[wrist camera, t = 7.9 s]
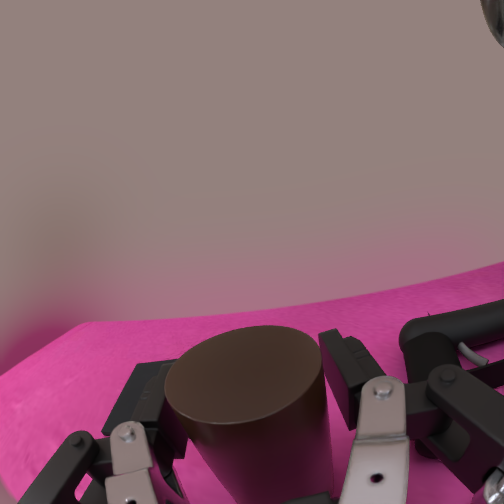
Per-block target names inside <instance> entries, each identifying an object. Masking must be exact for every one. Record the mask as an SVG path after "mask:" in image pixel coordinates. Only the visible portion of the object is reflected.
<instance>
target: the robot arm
mask: <svg viewBox="0 0 504 504" xmlns="http://www.w3.org/2000/svg"><path fill="white" fill-rule="evenodd" d="M480 1H481V6H482V10H483V13H484V17H485V20H486V22H487V25H488V27H489V29H490V31H491V33H492V35H493V36H494V38H495V39H496V41H497V42H498V43H499V44H500V45H501V46H502V47H503V48H504V0H480ZM318 338H319V345H320V351H321V354H322V361H323V369H324V374H325V376H326V379H327V381H328V383H329V385H330V388H331V390H332V392H333V395H334V397H335V399H336V401H337V404H338V406H339V408H340V411H341V413H342V415H343V418H344V420H345V422H346V425H347V427H348V429H349V431H351V430H354V429H356V428H357V429H356V435H355V439H354V440H353V444H352V448H351V454H350V458H349V463H348V468H347V472H346V477H345V481H344V485H343V489H342V493H341V496H340V497H336V498H330V494H329V491H325V492H321V493H317V494H313V495H309V496H304V497H300V498H295V499H290V500H288V501H285V502H283V503H280V504H406V497H407V487H408V473H409V440H413V439H418V438H419V439H420V440H421V441H422V442H423V443H424V444H425V445H426V446H427V447H428V448H429V449H430V450H431V451H432V453H433V454H434V455H435V456H436V457H437V458H438V459H439V460H440V461H441V462H442V463H443V464H444V465H445V466H446V467H447V468H448V469H449V470H450V471H451V472H452V473H453V474H454V475H455V476H456V477H457V478H458V479H459V480H460V481H461V482H462V483H463V484H464V485H465V486H466V487H467V488H468V489H469V490H470V491H471V492H472V493H473V494H474V495H473V497H472V500H471V503H470V504H504V396H503V395H502V394H500V393H499V392H497V391H496V390H494V389H493V388H491V387H490V386H488V385H487V384H485V383H484V382H482V381H481V380H479V379H478V378H476V377H474V376H473V375H471V374H470V373H468V372H467V371H465V370H464V369H462V368H461V367H459V366H457V365H453V364H445V365H440V366H438V367H436V368H434V369H433V370H432V371H431V372H430V374H429V376H428V380H426V381H421V382H416V383H409V384H403V383H402V382H401V381H400V380H399V379H397V378H395V377H392V376H387V375H386V374H385V373H384V371H383V370H382V369H381V367H380V366H379V365H378V363H377V362H376V361H375V359H374V358H373V357H372V355H370V353H369V351H368V350H367V349H366V347H365V346H364V345H363V343H362V342H361V341H360V340H358V339H356V338H354V337H352V336H349V337H346V338H342V336H341V335H340V333H339V332H338V330H337V329H336V328H335V329H332V330H328V331H325V332H321V333H319V334H318ZM173 364H174V363H167V364H162V365H161V368H160V370H159V372H158V375H157V376H153V377H152V378H151V379H150V380H149V381H148V382H147V383H146V385H145V387H144V390H143V393H142V394H141V396H140V400H139V401H138V403H137V405H136V408H135V410H134V412H133V415H132V417H131V419H130V421H128V422H124V423H122V424H120V425H118V426H117V427H116V428H114V430H113V431H112V433H111V435H110V437H107V438H101V439H96V440H95V439H94V438H93V437H92V435H91V434H90V433H89V432H87V431H76V432H74V433H72V434H70V435H69V436H68V437H67V438H66V439H65V441H64V442H63V443H62V445H61V446H60V447H59V448H58V450H57V451H56V452H55V454H54V455H53V456H52V457H51V459H50V460H49V461H48V463H47V464H46V465H45V467H44V468H43V469H42V471H41V472H40V473H39V475H38V476H37V477H36V479H35V480H34V481H33V483H32V484H31V485H30V487H29V488H28V489H27V491H26V492H25V494H24V495H23V496H22V498H21V499H20V500H19V502H18V503H17V504H190V503H189V501H188V498H187V496H186V494H185V491H184V489H183V487H182V484H181V482H180V479H179V477H178V474H177V471H176V469H175V468H174V466H173V460H174V459H184V457H185V452H186V446H187V441H188V435H187V433H186V431H185V430H184V428H183V427H182V425H181V423H180V422H179V420H178V418H177V417H176V415H175V413H174V411H173V410H172V408H171V406H170V404H169V403H168V401H167V398H166V396H165V390H164V386H165V380H166V376H167V374H168V372H169V370H170V368H171V367H172V365H173ZM86 473H87V474H88V475H89V476H90V477H91V478H92V479H93V480H92V481H91V483H90V485H89V486H88V488H87V489H86V491H85V493H84V494H83V496H82V498H81V499H80V501H78V500H77V499H76V498H75V494H74V493H75V489H76V488H77V486H78V485H79V483H80V481H81V480H82V478H83V477H84V475H85V474H86Z"/></svg>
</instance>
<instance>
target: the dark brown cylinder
mask: <svg viewBox="0 0 504 504" xmlns="http://www.w3.org/2000/svg"><path fill="white" fill-rule="evenodd" d="M164 390H165V396H166V398H167V401H168V403H169V404H170V406H171V408H172V410H173V411H174V413H175V415H176V417H177V418H178V420H179V422H180V423H181V425H182V427H183V428H184V430H185V431H186V433H187V435H188V436H189V438H190V439H191V441H192V442H193V444H194V445H195V447H196V448H197V450H198V451H199V453H200V454H201V456H202V457H203V459H204V460H205V462H206V463H207V464H208V466H209V467H210V469H211V470H212V471H213V473H214V474H215V475H216V477H217V478H218V479H219V481H220V482H221V483H222V485H223V486H224V487H225V488H226V490H227V491H228V492H229V493H230V495H231V496H232V497H233V498H234V499H235V501H236V502H237V503H238V504H280V503H283V502H285V501H288V500H290V499H295V498H300V497H304V496H309V495H313V494H317V493H321V492H325V491H329V494H330V498H331V497H332V494H333V488H334V484H333V465H332V449H331V436H330V425H329V414H328V404H327V395H326V386H325V377H324V369H323V361H322V354H321V351H320V348H319V346H318V345H317V343H316V342H315V341H314V340H313V339H312V338H311V337H310V336H309V335H307V334H306V333H304V332H302V331H299V330H296V329H293V328H289V327H284V326H273V325H264V326H253V327H246V328H240V329H236V330H232V331H229V332H225V333H222V334H219V335H217V336H214V337H212V338H209V339H207V340H205V341H203V342H201V343H199V344H198V345H196V346H194V347H193V348H191V349H190V350H188V351H187V352H186V353H184V354H183V355H182V356H181V357H180V358H179V359H178V360H177V361H176V362H175V363H174V364H173V365H172V367H171V368H170V370H169V372H168V374H167V376H166V380H165V386H164Z"/></svg>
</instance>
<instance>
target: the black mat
mask: <svg viewBox="0 0 504 504" xmlns="http://www.w3.org/2000/svg"><path fill="white" fill-rule="evenodd" d="M177 360H178V359H173V360H165V361H157V362H148V363H139V364H137V365H136V367H135V368H134V370H133V372H132V374H131V376H130V377H129V379H128V381H127V383H126V385H125V387H124V389H123V390H122V392H121V394H120V396H119V398H118V400H117V402H116V403H115V405H114V407H113V409H112V411H111V413H110V415H109V417H108V419H107V421H106V423H105V425H104V427H103V429H102V431H101V432H102V433H103V435H105V436H110V435H111V433H112V431H113V430H114V428H116V427H117V426H118V425H120V424H122V423H124V422H128V421H130V419H131V417H132V415H133V412H134V410H135V408H136V405H137V403H138V401H139V400H140V396H141V394H142V393H143V390H144V387H145V385H146V383H147V382H148V381H149V380H150V379H151V378H152V377H153V376H157V375H158V372H159V370H160V368H161V365H162V364H167V363H175V362H176V361H177ZM188 437H189V436H188Z"/></svg>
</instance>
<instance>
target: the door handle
mask: <svg viewBox="0 0 504 504" xmlns="http://www.w3.org/2000/svg"><path fill="white" fill-rule="evenodd" d="M428 314H429V313H428ZM501 338H504V299H502V300H498V301H494V302H490V303H487V304H483V305H478V306H474V307H470V308H466V309H461V310H456V311H452V312H447V313H442V314H437V315H431V316H430V315H429V316H426V317H420V318H415V319H412V320H410V321H409V322H407V323H406V324H405V325H404V326H403V328H402V329H401V332H400V335H399V346H400V349H401V351H402V352H403V355H404V360H405V365H406V371H407V377H408V384H409V383H416V382H421V381H426V380H428V376H429V374H430V372H431V371H432V370H433V369H434V368H436V367H438V366H440V365H445V364H453V365H457V366H459V367H461V368H462V366H461V364H460V361H459V359H458V356H457V353H456V351H457V350H459V351H460V352H461V354H462V355H463V356H464V357H465V358H467V359H468V360H469V361H470V362H472V363H473V364H475V365H477V366H478V367H477V368H474V369H470V370H466V371H467V372H468V373H470V374H471V375H473V376H474V377H476V378H478V379H479V380H481V381H482V382H484V383H485V384H487V385H488V386H490V387H491V388H493V389H494V388H497V387H500V386H503V385H504V359H503V360H500V361H497V362H494V363H490V364H488V361H489V360H488V359H486V358H483V357H482V356H480V355H478V354H476V353H475V352H473V351H472V350H471V349H469V347H473V346H477V345H481V344H484V343H488V342H491V341H495V340H498V339H501ZM415 448H416V450H417V452H418V453H419V454H421V455H422V456H424V457H427V458H432V459H438V458H437V457H436V456H435V455H434V454H433V453H432V451H431V450H430V449H429V448H428V447H427V446H426V445H425V444H424V443H423V442H422V441H421V440H420V439H419V438H418V439H415Z"/></svg>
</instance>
